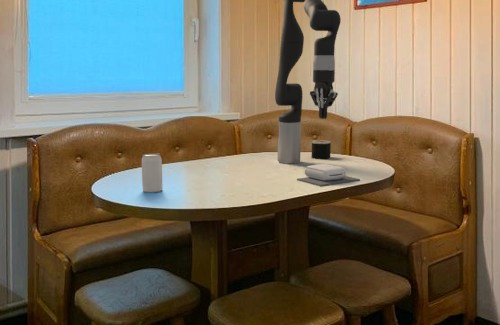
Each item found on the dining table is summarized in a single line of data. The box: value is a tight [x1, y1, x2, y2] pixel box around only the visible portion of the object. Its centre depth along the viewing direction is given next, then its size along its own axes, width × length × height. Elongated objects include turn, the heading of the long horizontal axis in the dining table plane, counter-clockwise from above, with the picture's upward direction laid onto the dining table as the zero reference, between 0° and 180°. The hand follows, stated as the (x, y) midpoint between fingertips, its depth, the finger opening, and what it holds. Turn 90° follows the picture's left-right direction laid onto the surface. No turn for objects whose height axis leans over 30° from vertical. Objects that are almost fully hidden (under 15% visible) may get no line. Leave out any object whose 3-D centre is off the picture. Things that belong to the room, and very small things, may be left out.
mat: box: [296, 175, 361, 187], centre depth 196 cm, size 13×18×1 cm
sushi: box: [310, 139, 332, 160], centre depth 246 cm, size 8×8×8 cm
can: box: [141, 152, 164, 193], centre depth 179 cm, size 6×6×12 cm
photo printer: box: [304, 163, 347, 181], centre depth 197 cm, size 10×4×12 cm
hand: (322, 118), depth 195 cm, fingers closed
